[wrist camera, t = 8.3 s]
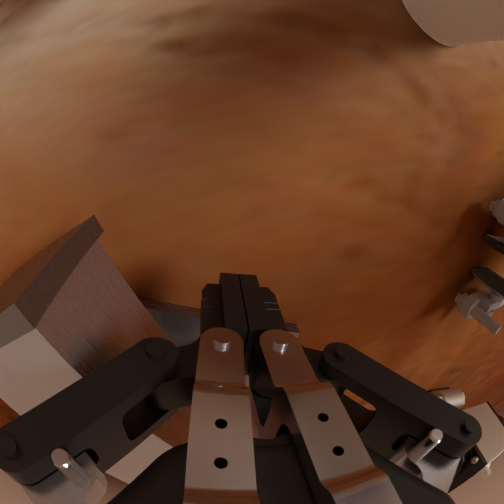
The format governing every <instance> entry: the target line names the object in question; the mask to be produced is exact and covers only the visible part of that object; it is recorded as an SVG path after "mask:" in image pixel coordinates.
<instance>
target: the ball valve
mask: <svg viewBox="0 0 504 504" xmlns="http://www.w3.org/2000/svg"><path fill="white" fill-rule="evenodd" d="M430 393H432V394H433V395H435V396H437V397H439V398H441V399H442V400H444V401H446V402H448V403H450V404H451V405H453V406H455V407H457V408H459V409H460V410H461V409H462V407H463V406H464V404H465V396H464V393H463V392H462V391H461V390H459V389H457V388H451V389H444V390H436V391H431V392H430ZM462 411H464V412H466V413H468V414H470V415H471V416H473V417H474V418H476V419H477V421H478V422H479V424H480V426H481V429H482V436H481V439H480V441H479V442H478V443H477V444H475V445H474V446H473V447H472V448H471V449H470V450H469V451H467V452H466V453H465V454H464V455H463V456H462V457H461V458H460V460H459V463H458V466H457V469H456V472H455V475H454V478H453V480H452V483H451V486H450V488H449V491H448V493H449V492H450V491H452V490H454V489H455V488H457V487H458V486H460V485H461V484H462V483H464V482H465V481H467V480H468V479H469V478H471V477H472V476H474V475H475V474H476V473H477V474H481V475H482V477H483V479H485V478H486V477H487V476H489V475H490V474H491V473H492V472H491V470H490V468H489V466H490V465H491V464H490V462H491V461H493V460H494V459H495V458H496V457H497V456H498V455H500V454H501V453H502V452H503V451H504V419H503V418H502V417H501V416H499V415H497V413H496V412H495V410H494V409H493V408H492V406H491V405H490V403H489V402H486V403H483V404H480V405H477V406H474V407H471V408H469V407H467V408H466V409H465V410H462Z"/></svg>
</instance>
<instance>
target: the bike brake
mask: <svg viewBox="0 0 504 504" xmlns="http://www.w3.org/2000/svg"><path fill="white" fill-rule="evenodd" d="M490 211H491V212H492V214H493V216H494V217H495V218H497V221H498V222H499V223H501V224H503V225H504V198H503V199H501V200H499V199H498V200H496V201H492V202H491V204H490ZM483 238H484V239H485V241H486V242H487V243H488V244H489V246H490V247H492V248H494V249H495V250H497V251H499V252H500V253H502V254H504V238H503V237H499V236H493V235H488V234H486V235H485V236H484V237H483ZM471 270H472V274H473V275H474V276H475V277H476V278H477V279H478V280H479V281H480V282H481V283H482V284H484V285H485V286H487V287H488V288H489V289H488V290H484V291H480V292H477V293H472V294H470V295H468V294H467V293H463V294H461V293H459V294H458V295H457V296H456V298H455V302H456V303H457V304H456V306H457V308H458V309H459V313H460V314H461V315H462V316H464V317H465V318H466V319H467V320H469V319H470V318H471V317H472V316H473V317H474V318H475V319H477V320H478V322H479V323H480V324H481V325H484V326H485V327H486V328H487V329H489V330H490V331H491V332H492V333H493V334H494V335H496V334H497V333H498V331H499V330H500V328H501V325H500V324H499V323H497V322H496V321H495V320H494V319H493V318H491V316H492V314H493V310H494V309H497V308H499V307H501V306H502V305H503V304H504V279H503V278H502V277H501V276H499V275H498V274H496V273H495V272H493V271H492V270H490V269H489V268H472V269H471Z"/></svg>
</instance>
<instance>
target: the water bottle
mask: <svg viewBox="0 0 504 504" xmlns="http://www.w3.org/2000/svg"><path fill="white" fill-rule="evenodd" d="M402 2H403V4H404V6H405V8H406V9H407V11H408V13H409V14H410V16H411V17H412V18H413V20H414V21H415V22H416V23H417V25H418V26H419V27H420V28H421V29H422V30H423V31H424V32H425V33H426V34H427V35H429V36H430V37H431V38H432V39H434V40H435V41H437V42H439V43H440V44H443V45H445V46H449V47H456V46H461V45H467V44H473V43H479V42H487V41H498V40H504V0H402Z"/></svg>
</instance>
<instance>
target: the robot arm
mask: <svg viewBox="0 0 504 504" xmlns="http://www.w3.org/2000/svg"><path fill="white" fill-rule="evenodd" d="M245 375H248V376H249V385H248V387H246V386H245ZM346 389H348V390H350V391H351V392H353V393H354V394H356V395H357V396H359V397H361V398H362V399H364V400H365V401H367V402H369V403H370V404H372V405H373V406H374V407H375V408H376V410H375V411H371V410H368V409H366V408H365V407H363V406H361V405H360V404H358V403H357V402H355V401H354V400H352V399H350V398H349V397H347V396H346V395H344V394H343V393H344V391H345V390H346ZM190 405H191V415H190V426H189V437H188V443H184V444H181V445H178V446H175V447H173V448H171V449H169V450H167V451H166V452H164V453H163V454H161V455H160V456H159V457H157V458H156V459H155V460H154V461H153V462H152V463H151V464H150V465H149V466H148V467H147V468H146V469H145V470H144V471H143V472H142V473H140V474H139V475H138V476H137V477H136V478H135V479H134V480H133V481H132V482H131V483H130V484H129V485H128V486H126V487H125V488H124V489H123V490H122V491H121V492H120V493H119V494H117V496H115V497H114V498H113V499H112V500H111V501H110V502H108V503H107V504H455V502H454V501H453V499H452V498H451V497H450V496H449V495H448V494H447V493H448V491H449V488H450V486H451V483H452V480H453V478H454V475H455V472H456V469H457V466H458V463H459V460H460V458H461V457H462V456H463V455H464V454H465V453H466V452H467V451H469V450H470V449H471V448H472V447H473V446H474V445H475V444H477V443H478V442H479V441H480V439H481V436H482V429H481V426H480V424H479V422H478V421H477V419H476V418H474V417H473V416H471V415H470V414H468V413H466V412H464V411H462V410H460V409H459V408H457V407H455V406H453V405H451V404H450V403H448V402H446V401H444V400H442V399H441V398H439V397H437V396H435V395H433V394H432V393H430V392H428V391H426V390H425V389H423V388H421V387H419V386H418V385H416V384H414V383H412V382H411V381H409V380H407V379H405V378H404V377H402V376H400V375H398V374H397V373H395V372H393V371H392V370H390V369H388V368H386V367H385V366H383V365H381V364H380V363H378V362H376V361H375V360H373V359H371V358H370V357H368V356H366V355H364V354H363V353H361V352H359V351H358V350H356V349H354V348H353V347H351V346H349V345H347V344H344V343H337V342H336V343H330V344H328V345H327V346H326V347H325V348H324V350H323V351H318V350H313V349H308V348H305V347H302V346H301V344H300V342H299V340H298V339H297V338H296V337H295V336H294V335H293V334H291V333H289V332H288V331H287V328H286V326H285V323H284V320H283V317H282V314H281V311H280V308H279V306H278V304H277V300H276V297H275V294H274V293H273V292H272V291H271V290H270V289H269V288H268V287H259V283H258V280H257V276H256V275H245V274H231V273H220V278H219V284H207V285H206V286H205V287H204V289H203V290H202V300H201V314H200V337H199V338H198V339H197V340H196V341H195V342H193V343H191V344H189V345H185V346H180V347H176V346H175V345H174V344H173V343H172V342H171V341H169V340H167V339H165V338H161V337H149V338H145V339H143V340H141V341H139V342H138V343H136V344H135V345H133V346H131V347H130V348H128V349H127V350H125V351H124V352H122V353H121V354H119V355H117V356H116V357H114V358H113V359H111V360H109V361H108V362H106V363H105V364H103V365H102V366H100V367H98V368H97V369H95V370H94V371H92V372H90V373H89V374H87V375H86V376H84V377H83V378H81V379H79V380H78V381H76V382H75V383H73V384H71V385H70V386H68V387H66V388H65V389H63V390H62V391H60V392H58V393H57V394H55V395H54V396H52V397H50V398H49V399H47V400H45V401H44V402H42V403H41V404H39V405H37V406H36V407H34V408H32V409H31V410H29V411H28V412H26V413H24V414H23V415H21V416H19V417H18V418H16V419H14V420H13V421H11V422H9V423H8V424H6V425H4V426H3V427H1V428H0V468H1V469H2V470H3V471H4V472H5V473H7V474H8V475H9V476H10V477H11V478H12V479H13V480H14V481H15V482H17V483H18V484H19V485H21V486H22V488H23V489H24V490H25V492H26V493H27V495H28V496H29V497H30V499H31V500H32V501H33V503H34V504H98V502H99V500H100V499H101V498H102V497H103V496H104V494H105V493H106V490H107V482H106V479H105V476H104V475H103V473H105V472H106V471H107V470H108V469H110V468H111V467H112V466H114V465H115V464H116V463H117V462H119V461H120V460H121V459H122V458H124V457H125V456H126V455H127V454H129V453H130V452H131V451H132V450H133V449H135V448H136V447H137V446H138V445H139V444H141V443H142V442H143V441H144V440H145V439H147V438H148V437H149V436H150V435H151V434H152V433H154V432H155V431H156V430H157V429H158V428H159V427H161V426H162V425H163V424H164V423H165V422H166V421H167V420H169V419H170V418H171V417H172V416H173V415H174V414H175V413H176V412H177V411H178V409H179V408H181V407H186V406H190ZM251 408H252V411H253V415H254V419H255V423H256V426H257V430H258V438H255V437H253V433H252V418H251Z"/></svg>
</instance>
